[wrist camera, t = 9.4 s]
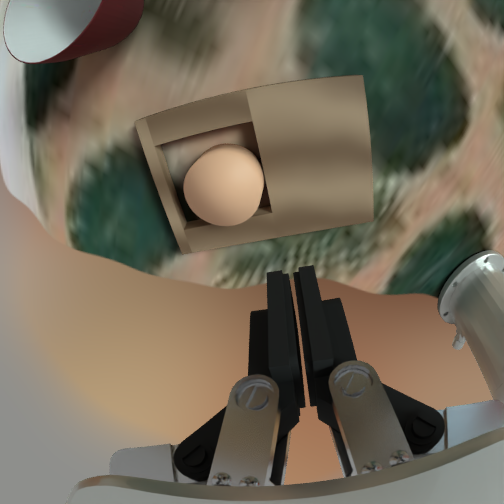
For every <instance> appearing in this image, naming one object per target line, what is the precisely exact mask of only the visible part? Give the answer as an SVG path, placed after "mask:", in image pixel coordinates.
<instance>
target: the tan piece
mask: <svg viewBox="0 0 504 504" xmlns="http://www.w3.org/2000/svg"><path fill="white" fill-rule="evenodd" d="M251 121H253V125H254V129H255V134H256V138H257V143H258V147H259V152H260V156H261V161H262V166H263V170H264V175H265V180H266V185H267V189H268V194H269V199H270V204H271V206H265V207H260V208H257V210H256V212H255V213H254V214H253V215H252V216H251V217H250V218H249V219H248V220H246V221H245V222H243V223H240V224H238V225H233V226H218V225H214V224H211V223H208V222H206V221H204V220H203V219H199V220H194V221H189V222H187V221H186V218H185V215H184V213H183V210H182V207H181V204H180V201H179V198H178V196H177V193H176V190H175V187H174V184H173V181H172V178H171V175H170V172H169V169H168V166H167V163H166V160H165V157H164V154H163V151H162V148H161V144H163V143H167V142H170V141H173V140H177V139H180V138H184V137H188V136H191V135H195V134H199V133H203V132H207V131H211V130H215V129H219V128H223V127H227V126H232V125H236V124H241V123H246V122H251ZM135 125H136V128H137V132H138V135H139V138H140V141H141V144H142V147H143V150H144V153H145V156H146V159H147V162H148V165H149V167H150V170H151V173H152V176H153V179H154V182H155V184H156V187H157V190H158V193H159V195H160V198H161V201H162V203H163V206H164V209H165V211H166V214H167V217H168V219H169V222H170V225H171V227H172V230H173V232H174V235H175V237H176V240H177V242H178V245H179V247H180V250H181V252H182V255H183V254H188V253H193V252H199V251H205V250H210V249H216V248H221V247H227V246H232V245H238V244H244V243H249V242H255V241H261V240H266V239H272V238H278V237H284V236H289V235H295V234H301V233H307V232H313V231H318V230H324V229H330V228H336V227H342V226H348V225H354V224H360V223H366V222H372V221H374V215H373V175H372V157H371V143H370V131H369V121H368V112H367V103H366V96H365V88H364V81H363V75H347V76H334V77H323V78H314V79H305V80H297V81H290V82H284V83H277V84H271V85H266V86H260V87H255V88H250V89H245V90H240V91H235V92H231V93H227V94H222V95H218V96H214V97H210V98H206V99H203V100H199V101H195V102H192V103H188V104H185V105H181V106H178V107H175V108H171V109H168V110H165V111H162V112H159V113H156V114H153V115H150V116H147V117H144V118H142V119H139V120H137V121H135Z"/></svg>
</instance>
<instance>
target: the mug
mask: <svg viewBox="0 0 504 504" xmlns="http://www.w3.org/2000/svg"><path fill="white" fill-rule="evenodd" d="M143 7H144V0H10V1H9V3H8V6H7V9H6V13H5V17H4V26H3V33H4V40H5V44H6V47H7V49H8V51H9V52H10V54H11V55H12V56H13V57H14V58H15V59H17V60H18V61H20V62H23V63H27V64H41V63H54V62H61V61H67V60H71V59H74V58H78V57H81V56H84V55H87V54H90V53H94V52H97V51H101V50H104V49H107V48H109V47H112V46H114V45H116V44H117V43H119V42H121V41H122V40H123V39H125V38H126V37H127V36H128V35H129V34H130V33H131V32H132V31H133V30H134V28H135V27H136V26H137V24H138V22H139V20H140V18H141V16H142V12H143Z"/></svg>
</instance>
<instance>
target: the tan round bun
mask: <svg viewBox="0 0 504 504" xmlns="http://www.w3.org/2000/svg"><path fill="white" fill-rule="evenodd" d="M264 183H265V175H264V170H263V167H262V164H261V162H260V161H259V159H258V158H257V157H256V156H255V155H254V154H253V153H252V152H251V151H249V150H248V149H246V148H244V147H242V146H239V145H235V144H220V145H216V146H214V147H211V148H210V149H208V150H207V151H206V152H204V153H203V154H202V156H201V157H200V158H199V159H198V160H197V161H196V162H195V163H194V164H193V165H192V167H191V168H190V169H189V171H188V172H187V174H186V177H185V180H184V195H185V198H186V201H187V203H188V205H189V207H190V208H191V209H192V211H193V212H194V213H195V214H196V215H197V216H199V217H200V218H201V219H203V220H204V221H206V222H208V223H211V224H214V225H218V226H233V225H238V224H240V223H243V222H245V221H246V220H248V219H249V218H250V217H251V216H252V215H253V214H254V213H255V212H256V210H257V208H258V206H259V203H260V199H261V195H262V191H263V187H264Z"/></svg>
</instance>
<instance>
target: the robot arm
mask: <svg viewBox="0 0 504 504" xmlns="http://www.w3.org/2000/svg"><path fill="white" fill-rule="evenodd" d="M293 275H294V282H295V290H296V296H297V304H298V312H299V320H300V328H301V336H302V344H303V353H304V361H305V369H306V376H307V384H308V391H309V398H310V406H317V413H318V419H319V420H321V421H322V422H324V423H325V424H327V425H329V429H330V432H331V435H332V439H333V442H334V445H335V449H336V452H337V455H338V459H339V462H340V466H341V469H342V472H343V476H344V478H340V479H333V480H327V481H320V482H312V483H303V484H292V485H284V479H285V472H286V466H287V459H288V451H289V444H290V436H291V429H292V428H293V427H294V426H295V425H296V424H297V423H298V422H299V416H300V408H304V407H305V396H304V385H303V375H302V366H301V355H300V346H299V336H298V328H297V322H296V315H295V309H294V304H293V297H292V291H291V286H290V280H289V274H288V273H287V274H283V273H282V270H281V271H274V272H268V273H267V303H268V309H266V310H259V311H252V312H251V315H250V339H249V363H248V365H249V366H248V376H247V377H244V378H242V379H241V380H239V381H238V382H237V383H236V384H235V385H234V386H233V388H232V390H231V392H230V396H229V400H228V404H227V406H226V407H225V408H224V409H222V410H221V411H220V412H219V413H217V414H216V415H215V416H214V417H213V418H211V419H210V420H209V421H208V422H206V423H205V424H204V425H203V426H201V427H200V428H199V429H198V430H197V431H195V432H194V433H193V434H191V435H190V436H189V437H187V438H186V439H185V440H184V441H183V442H181V444H178V445H171V444H164V445H157V446H148V447H138V448H127V449H121V450H118V451H117V452H115V453H114V454H113V456H112V457H111V460H110V475H103V476H96V477H91V478H87V479H85V480H82V481H80V482H78V483H77V484H76V485H75V486H74V487H73V488H72V490H71V492H70V494H69V496H68V498H67V501H66V504H504V258H503V257H502V255H501V254H500V253H498V252H496V251H492V250H488V251H483V252H480V253H478V254H475V255H474V256H472V257H470V258H469V259H467V260H466V261H465V262H464V263H462V264H461V265H460V266H459V267H458V268H457V269H456V270H455V271H454V272H453V274H452V275H451V276H450V277H449V279H448V280H447V282H446V283H445V285H444V287H443V289H442V290H441V293H440V296H439V299H438V312H439V314H440V316H441V317H442V319H443V320H444V321H445V322H447V323H451V324H455V325H456V327H457V330H456V332H457V335H456V336H455V338H454V341H453V343H452V346H453V347H454V348H455V349H458V350H459V349H461V348H462V347H463V344H464V343H465V340H466V341H467V343H468V345H469V347H470V349H471V351H472V353H473V355H474V357H475V359H476V361H477V363H478V365H479V367H480V370H481V372H482V374H483V376H484V378H485V381H486V383H487V385H488V387H489V390H490V392H491V394H492V397H493V399H494V400H489V401H485V402H478V403H473V404H467V405H459V406H453V407H446V408H445V409H444V410H435V409H434V408H432V407H429V406H427V405H425V404H423V403H421V402H419V401H417V400H415V399H413V398H411V397H408V396H407V395H405V394H403V393H401V392H399V391H397V390H395V389H393V388H391V387H389V386H387V385H385V384H383V383H381V381H380V379H379V376H378V374H377V373H376V371H375V370H374V368H373V367H372V366H370V365H369V364H368V363H365V362H362V361H357V358H356V354H355V350H354V346H353V342H352V339H351V335H350V331H349V327H348V324H347V320H346V316H345V313H344V310H343V306H342V303H341V300H340V298H335V299H330V300H324V301H322V300H321V297H320V292H319V287H318V283H317V278H316V274H315V270H314V266H313V265H311V266H305V267H299V272H294V273H293Z"/></svg>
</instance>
